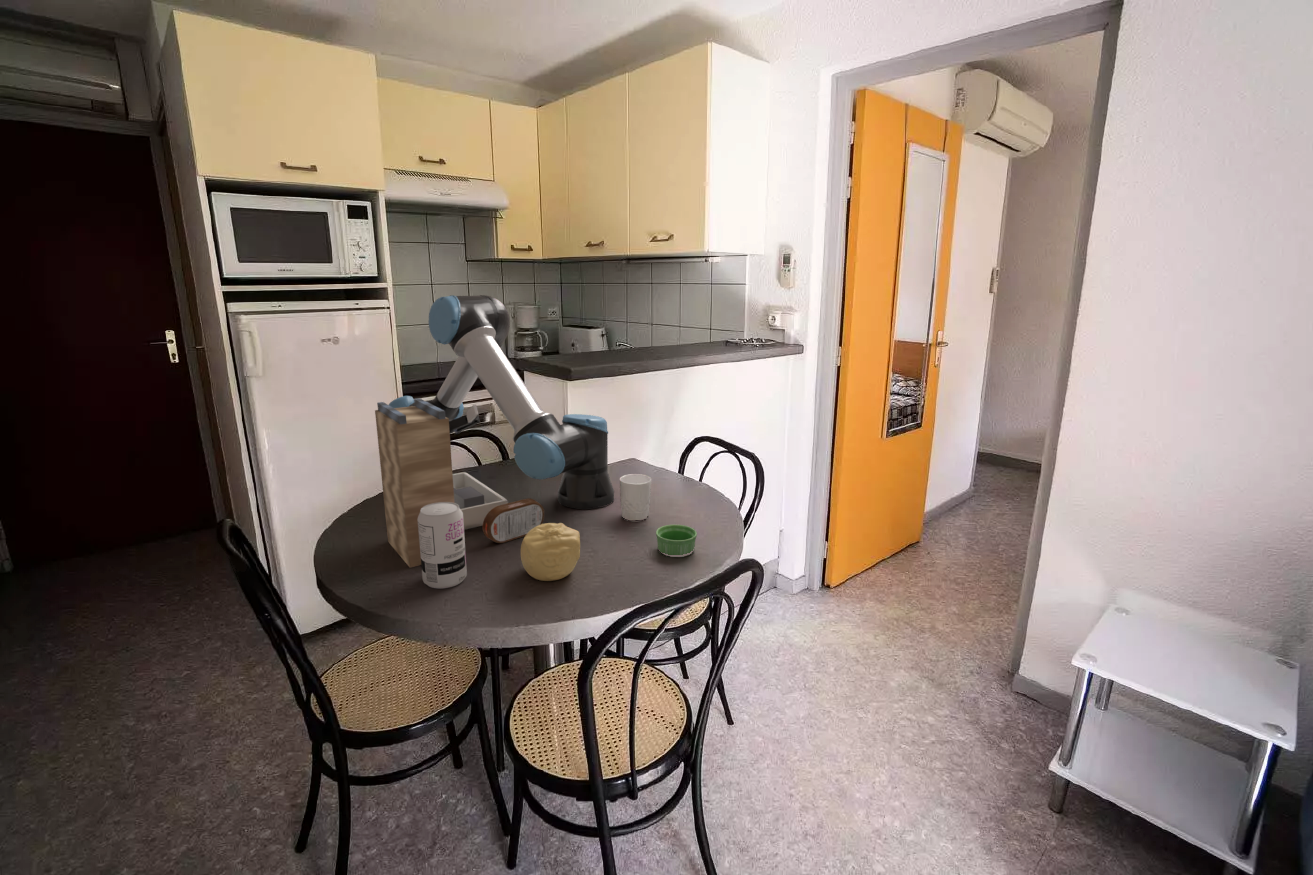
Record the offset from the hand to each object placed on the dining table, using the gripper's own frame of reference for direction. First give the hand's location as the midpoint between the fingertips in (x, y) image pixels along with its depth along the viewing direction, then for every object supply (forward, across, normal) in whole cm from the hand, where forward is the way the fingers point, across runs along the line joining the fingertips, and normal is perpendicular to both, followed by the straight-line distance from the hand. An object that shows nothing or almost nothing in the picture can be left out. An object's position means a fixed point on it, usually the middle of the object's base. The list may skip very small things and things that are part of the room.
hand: (450, 412), depth 154 cm
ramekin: (+35, -29, -49) cm, 67 cm away
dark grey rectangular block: (-10, 0, -22) cm, 24 cm away
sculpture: (+29, -1, -46) cm, 54 cm away
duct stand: (+6, +16, -32) cm, 36 cm away
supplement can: (+21, +17, -41) cm, 49 cm away
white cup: (+16, -33, -38) cm, 53 cm away
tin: (+11, -4, -35) cm, 37 cm away
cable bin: (-10, 0, -23) cm, 25 cm away
